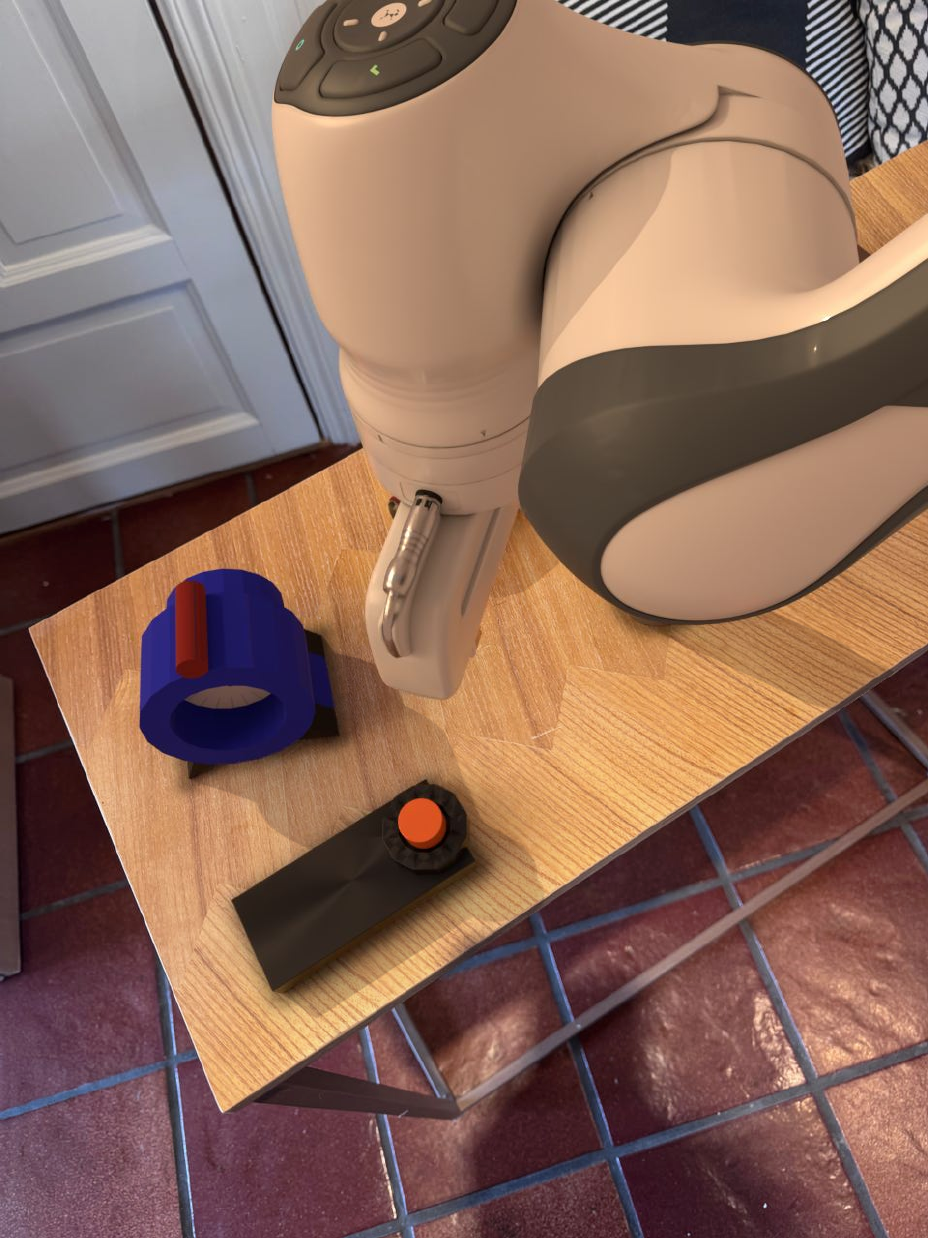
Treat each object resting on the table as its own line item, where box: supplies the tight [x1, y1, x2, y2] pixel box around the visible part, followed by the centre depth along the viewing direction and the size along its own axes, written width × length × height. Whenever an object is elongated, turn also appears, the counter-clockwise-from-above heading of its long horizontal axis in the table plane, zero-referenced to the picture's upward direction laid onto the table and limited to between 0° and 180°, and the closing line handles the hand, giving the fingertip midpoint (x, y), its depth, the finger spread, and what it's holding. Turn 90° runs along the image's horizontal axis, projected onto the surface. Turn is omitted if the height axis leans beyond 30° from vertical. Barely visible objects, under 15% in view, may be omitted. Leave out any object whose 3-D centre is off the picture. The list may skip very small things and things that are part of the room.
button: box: [398, 798, 446, 849], centre depth 60 cm, size 3×3×2 cm
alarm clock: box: [138, 568, 340, 780], centre depth 65 cm, size 12×12×15 cm
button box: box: [230, 778, 480, 995], centre depth 62 cm, size 17×7×4 cm, turn 121°
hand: (488, 570), depth 50 cm, fingers open, 8 cm apart
